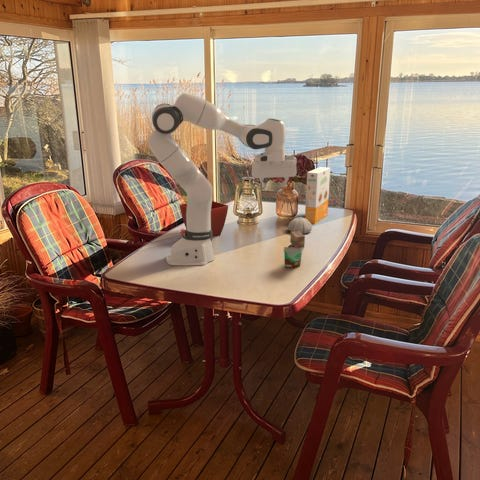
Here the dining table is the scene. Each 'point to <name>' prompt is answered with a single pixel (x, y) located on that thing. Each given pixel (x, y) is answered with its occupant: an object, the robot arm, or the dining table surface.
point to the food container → (292, 256)
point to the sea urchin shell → (300, 225)
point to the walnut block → (297, 239)
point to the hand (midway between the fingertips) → (273, 187)
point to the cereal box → (317, 194)
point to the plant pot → (216, 217)
